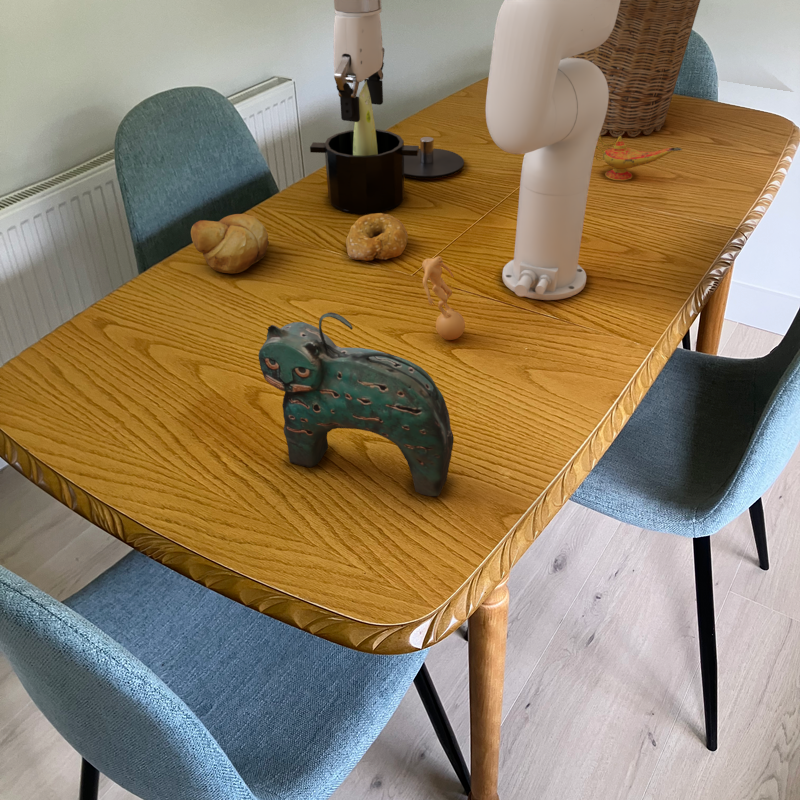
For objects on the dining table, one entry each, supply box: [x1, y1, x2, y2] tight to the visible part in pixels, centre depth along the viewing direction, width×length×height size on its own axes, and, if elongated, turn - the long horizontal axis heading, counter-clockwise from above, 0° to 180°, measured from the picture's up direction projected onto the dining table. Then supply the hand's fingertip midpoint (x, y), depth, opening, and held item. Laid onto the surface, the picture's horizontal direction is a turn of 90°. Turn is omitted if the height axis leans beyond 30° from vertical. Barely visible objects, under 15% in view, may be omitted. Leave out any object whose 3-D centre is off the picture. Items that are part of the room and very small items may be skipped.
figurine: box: [421, 255, 466, 341], centre depth 102 cm, size 8×6×12 cm
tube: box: [353, 80, 378, 156], centre depth 136 cm, size 6×5×20 cm
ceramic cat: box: [258, 312, 455, 497], centre depth 79 cm, size 20×6×20 cm, turn 69°
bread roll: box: [190, 213, 270, 274], centre depth 122 cm, size 13×10×8 cm
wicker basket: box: [567, 0, 701, 138], centre depth 163 cm, size 35×35×33 cm
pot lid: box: [404, 136, 465, 180], centre depth 152 cm, size 15×15×6 cm
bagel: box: [345, 213, 409, 262], centre depth 125 cm, size 10×11×5 cm
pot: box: [309, 128, 420, 216], centre depth 139 cm, size 14×19×10 cm
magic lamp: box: [595, 135, 683, 181], centre depth 145 cm, size 7×18×11 cm, turn 64°
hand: (362, 111), depth 132 cm, fingers open, 9 cm apart
